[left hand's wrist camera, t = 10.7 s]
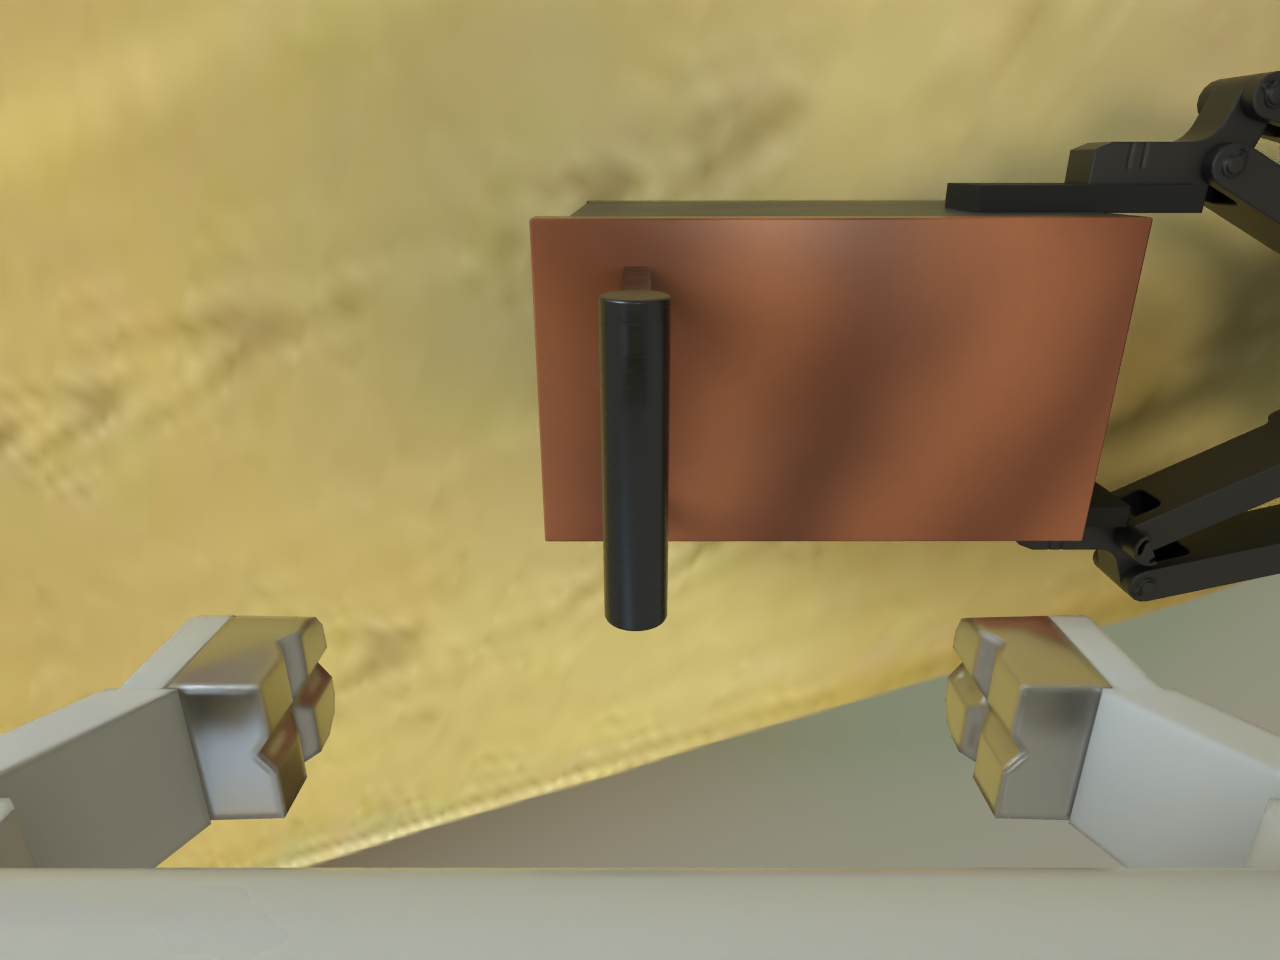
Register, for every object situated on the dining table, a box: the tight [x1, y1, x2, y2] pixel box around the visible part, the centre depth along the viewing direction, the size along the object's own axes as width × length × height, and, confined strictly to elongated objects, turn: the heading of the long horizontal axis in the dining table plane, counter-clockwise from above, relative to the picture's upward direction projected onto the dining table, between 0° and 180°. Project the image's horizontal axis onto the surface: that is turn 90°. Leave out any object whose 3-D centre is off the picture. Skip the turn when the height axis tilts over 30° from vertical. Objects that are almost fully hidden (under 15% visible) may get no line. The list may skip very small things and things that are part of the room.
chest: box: [571, 200, 1127, 216], centre depth 28 cm, size 15×9×10 cm, turn 90°
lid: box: [529, 215, 1152, 631], centre depth 20 cm, size 16×9×8 cm, turn 90°
